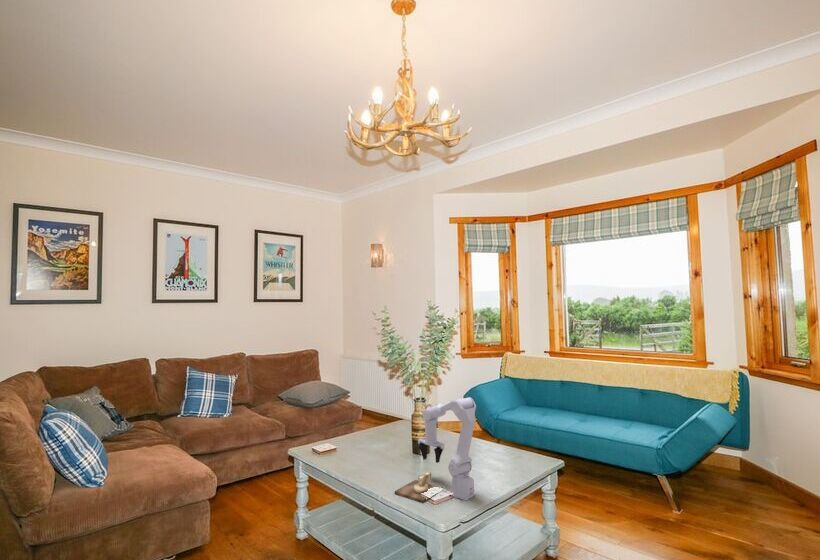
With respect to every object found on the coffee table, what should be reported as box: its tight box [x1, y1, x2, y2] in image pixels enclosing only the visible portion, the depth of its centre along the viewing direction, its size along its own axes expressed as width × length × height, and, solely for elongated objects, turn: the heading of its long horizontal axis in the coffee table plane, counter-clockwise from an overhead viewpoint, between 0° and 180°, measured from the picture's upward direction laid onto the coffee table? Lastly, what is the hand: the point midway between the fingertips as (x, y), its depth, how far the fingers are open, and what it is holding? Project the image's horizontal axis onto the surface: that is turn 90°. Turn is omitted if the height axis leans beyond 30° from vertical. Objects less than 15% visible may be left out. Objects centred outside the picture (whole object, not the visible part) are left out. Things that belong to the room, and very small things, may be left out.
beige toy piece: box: [414, 471, 432, 494], centre depth 207 cm, size 11×6×6 cm, turn 146°
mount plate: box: [394, 479, 444, 504], centre depth 207 cm, size 16×16×1 cm
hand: (431, 460), depth 221 cm, fingers open, 7 cm apart
